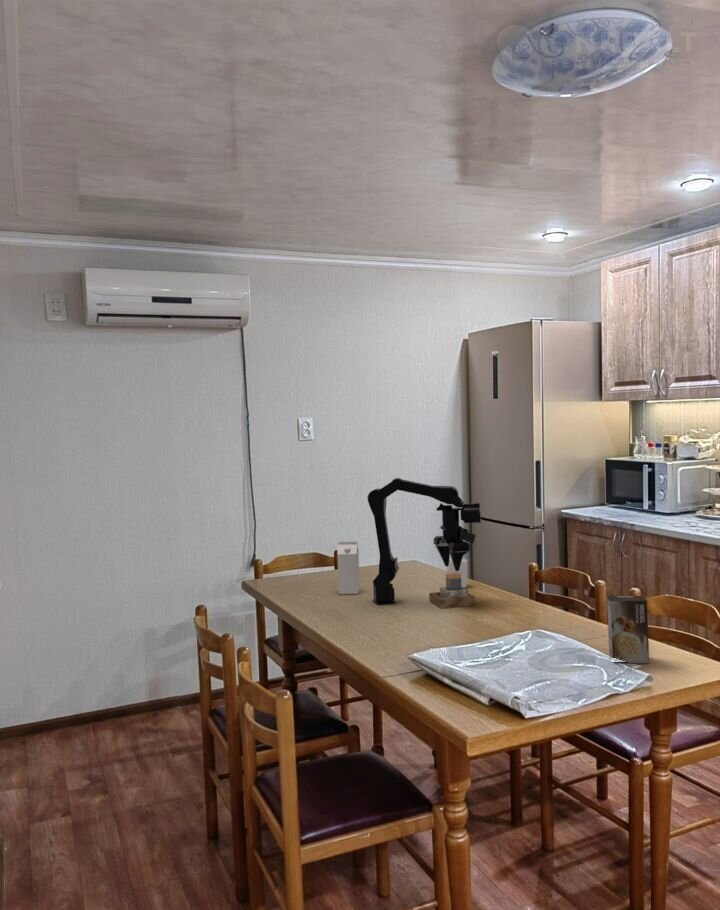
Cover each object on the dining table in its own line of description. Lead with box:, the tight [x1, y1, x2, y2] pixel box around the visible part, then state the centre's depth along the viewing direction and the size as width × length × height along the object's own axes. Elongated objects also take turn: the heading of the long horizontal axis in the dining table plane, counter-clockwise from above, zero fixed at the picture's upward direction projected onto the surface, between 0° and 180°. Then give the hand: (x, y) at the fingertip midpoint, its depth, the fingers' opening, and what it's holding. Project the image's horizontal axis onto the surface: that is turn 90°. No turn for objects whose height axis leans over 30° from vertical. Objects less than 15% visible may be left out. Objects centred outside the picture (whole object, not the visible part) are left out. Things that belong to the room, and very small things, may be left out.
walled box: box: [428, 586, 475, 609], centre depth 262 cm, size 12×11×5 cm
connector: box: [445, 572, 462, 591], centre depth 262 cm, size 4×4×8 cm
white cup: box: [446, 558, 468, 589], centre depth 287 cm, size 8×8×10 cm
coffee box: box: [606, 594, 650, 664], centre depth 195 cm, size 9×6×16 cm
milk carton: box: [337, 540, 361, 595], centre depth 284 cm, size 7×7×19 cm
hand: (452, 568), depth 262 cm, fingers open, 9 cm apart
